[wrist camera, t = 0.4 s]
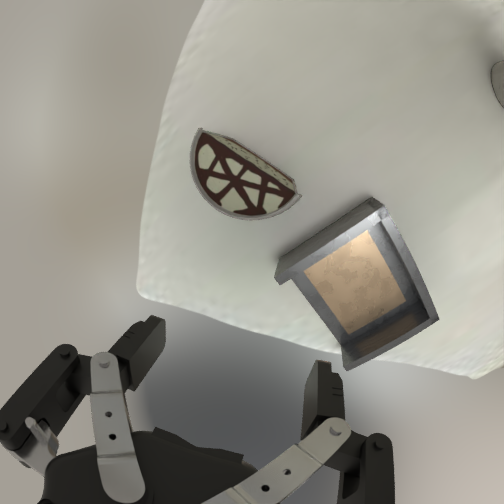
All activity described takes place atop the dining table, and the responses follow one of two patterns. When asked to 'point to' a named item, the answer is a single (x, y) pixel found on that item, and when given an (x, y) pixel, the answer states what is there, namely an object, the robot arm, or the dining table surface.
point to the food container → (238, 178)
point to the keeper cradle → (361, 283)
